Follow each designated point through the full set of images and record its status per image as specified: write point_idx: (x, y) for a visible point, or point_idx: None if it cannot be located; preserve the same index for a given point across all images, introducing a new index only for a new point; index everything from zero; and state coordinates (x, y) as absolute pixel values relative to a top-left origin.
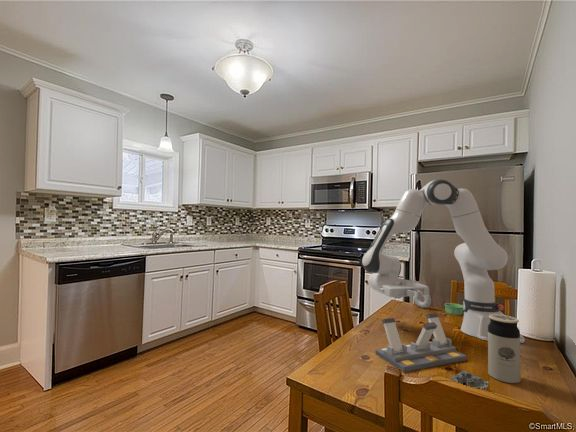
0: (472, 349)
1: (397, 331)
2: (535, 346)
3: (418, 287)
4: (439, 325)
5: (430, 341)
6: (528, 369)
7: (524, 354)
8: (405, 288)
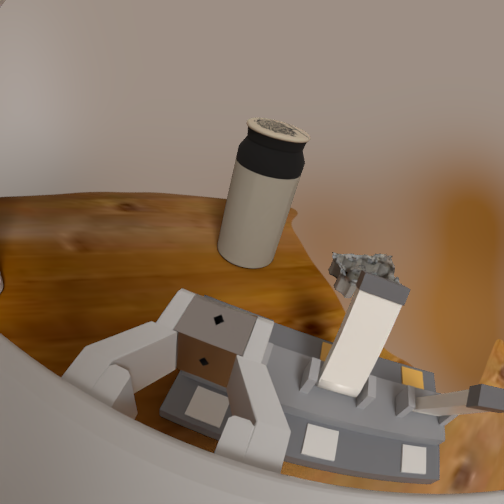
0: (105, 310)
1: (446, 393)
2: (3, 215)
3: (3, 341)
4: None
5: (188, 414)
6: (159, 225)
7: (66, 227)
8: (307, 480)
